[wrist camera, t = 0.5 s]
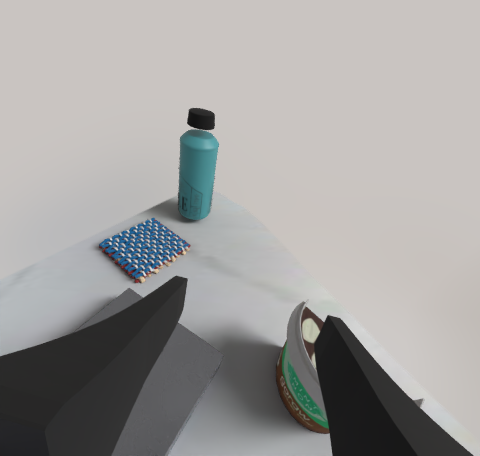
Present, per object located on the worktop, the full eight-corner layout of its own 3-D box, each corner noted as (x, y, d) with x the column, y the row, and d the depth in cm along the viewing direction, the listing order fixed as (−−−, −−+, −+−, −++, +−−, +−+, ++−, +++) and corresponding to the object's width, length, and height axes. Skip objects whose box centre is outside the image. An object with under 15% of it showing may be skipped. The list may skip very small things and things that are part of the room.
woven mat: (193, 251, 39) (194, 243, 38) (139, 289, 32) (138, 280, 30) (154, 222, 43) (153, 214, 41) (97, 249, 35) (94, 240, 34)
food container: (243, 373, 26) (267, 332, 19) (275, 338, 30) (303, 295, 23) (338, 492, 20) (415, 489, 14) (363, 429, 24) (431, 405, 18)
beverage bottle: (215, 216, 47) (232, 114, 35) (196, 231, 42) (207, 119, 30) (191, 203, 49) (198, 102, 36) (169, 216, 44) (170, 105, 32)
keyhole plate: (81, 603, 14) (67, 620, 12) (-37, 446, 18) (-61, 440, 16) (219, 365, 26) (223, 354, 24) (131, 301, 29) (129, 287, 28)
